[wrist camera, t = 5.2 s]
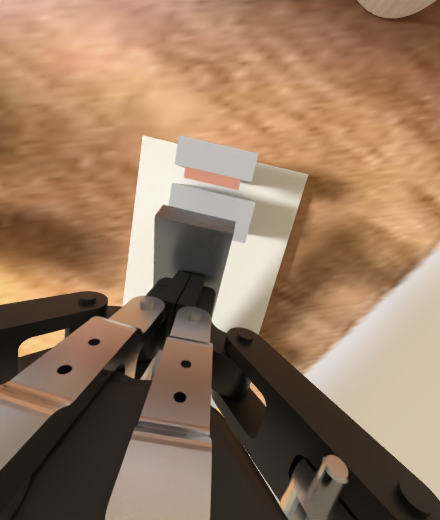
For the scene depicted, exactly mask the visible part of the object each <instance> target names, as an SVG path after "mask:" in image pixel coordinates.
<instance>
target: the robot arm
mask: <svg viewBox="0 0 440 520" xmlns="http://www.w3.org/2000/svg"><path fill="white" fill-rule="evenodd" d="M205 278H206V277H203V276H198V275H194V274H190V273H186V272H182V271H178V272H177V273H176V274H175V276H174V277H173V278H168V277H165V278H162V279H159V280H158V282H157V283H156V284H155V285H154V286H153V288H152V289H151V290H150V291H149V292H148V293H147V294H146V296H138V297H135V298H133V299H131V300H130V301H129V302H128V303H127V304H125V305H124V306H123V307H121V306H107V304H108V298H107V297H106V296H105V295H103V294H101V293H98V292H91V291H85V292H77V293H71V294H65V295H59V296H53V297H46V298H40V299H34V300H28V301H22V302H16V303H10V304H3V305H0V520H440V501H439V500H438V499H437V497H436V496H435V495H434V494H433V493H432V491H431V490H430V489H429V488H428V487H427V486H426V485H425V484H424V483H423V482H422V481H420V480H419V479H418V478H417V477H416V476H415V475H414V474H412V473H411V472H410V471H409V470H408V469H407V468H406V467H405V466H404V465H403V464H401V463H400V462H399V461H398V460H397V459H396V458H395V457H394V456H393V455H391V454H390V453H389V452H388V451H387V450H386V449H385V448H384V447H382V446H381V445H380V444H379V443H378V442H377V441H376V440H375V439H373V437H371V436H370V435H369V434H368V433H367V432H366V431H365V430H363V429H362V428H361V427H360V426H359V425H358V424H357V423H356V422H355V421H354V420H352V419H351V418H350V417H349V416H348V415H347V414H346V413H345V412H344V411H342V410H341V409H340V408H339V407H338V406H337V405H336V404H335V403H334V402H332V401H331V400H330V399H329V398H328V397H327V396H326V395H325V394H323V393H322V392H321V391H320V390H319V389H318V388H317V387H316V386H315V385H313V384H312V383H311V382H310V381H309V380H308V379H307V378H306V377H305V376H303V375H302V374H301V373H300V372H299V371H298V370H297V369H296V368H295V367H293V366H292V365H291V364H290V363H289V362H288V361H287V360H286V359H285V358H283V357H282V356H281V355H280V354H279V353H278V352H277V351H276V350H275V349H273V348H272V347H271V346H270V345H269V344H268V343H267V342H266V341H264V340H263V339H262V338H261V337H260V336H259V335H258V334H256V333H255V332H253V331H251V330H249V329H246V328H242V327H234V328H231V329H230V330H228V332H227V333H226V332H224V331H222V330H220V329H218V328H217V327H216V326H215V325H214V324H213V323H212V321H211V316H212V311H213V306H214V301H215V296H216V292H215V290H214V289H213V288H210V287H206V286H204V283H205ZM62 329H65V339H64V340H62V341H61V342H60V343H58V344H57V345H56V346H55V347H53V348H49V349H46V350H43V351H39V352H36V353H32V354H29V355H26V356H22V357H18V348H19V346H20V345H21V343H22V342H24V341H25V340H27V339H29V338H31V337H35V336H39V335H43V334H46V333H50V332H54V331H58V330H62ZM159 350H163V351H162V354H161V357H160V360H159V363H158V366H157V369H156V372H155V375H154V378H153V380H145V379H146V377H147V375H148V374H149V372H150V370H151V369H152V367H153V365H154V363H155V359H156V355H157V354H158V352H159ZM251 382H252V383H253V384H254V385H255V386H256V387H257V389H258V390H259V391H260V392H261V393H262V395H263V396H264V398H265V401H266V406H265V405H264V404H263V403H262V402H261V400H260V399H259V398H258V397H257V396H256V394H255V393H254V392H253V391H252V390H251V389H250V387H249V386H250V383H251ZM211 389H212V390H211ZM211 396H212V399H213V401H214V402H215V404H216V405H217V407H218V408H219V410H220V411H221V413H222V414H223V416H224V417H223V416H222V415H221V414H220V413H219V412H218V411H217V410H216V409H215V408H214V407H212V406H211ZM266 407H267V408H266ZM243 446H244V447H243ZM245 449H246V450H245ZM246 451H247V452H248V453H247V452H246ZM248 454H249V455H250V456H249V455H248ZM250 457H251V458H252V460H253V461H252V460H251V458H250ZM253 462H254V463H255V465H256V466H257V468H258V469H259V471H260V472H261V474H262V475H263V477H264V478H265V480H266V481H267V482H268V484H269V485H270V487H271V489H272V490H273V492H274V493H275V495H276V496H277V498H278V499H279V501H280V505H279V503H278V502H277V500H276V499H275V497H274V495H273V494H272V492H271V491H270V489H269V488H268V486H267V484H266V482H265V481H264V479H263V477H262V476H261V474H260V473H259V471H258V469H257V468H256V466H255V465H254V463H253Z"/></svg>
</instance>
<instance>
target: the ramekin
mask: <svg viewBox="0 0 440 520" xmlns="http://www.w3.org/2000/svg"><path fill="white" fill-rule="evenodd" d="M357 1H358V2H359V4H361V6H363V7H364V8H365V9H366V10H367V11H369V12H371V13H372V14H374V15H376V16H379V17H383V18H401V17H406V16H409V15H412V14H414V13H416V12H419V11H421V10H423V9H424V8H425V7H427V6H429V5H430V4H432V3H433V2H435V1H436V0H357Z"/></svg>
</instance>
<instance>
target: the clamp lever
mask: <svg viewBox="0 0 440 520" xmlns="http://www.w3.org/2000/svg"><path fill="white" fill-rule="evenodd" d="M235 224H236V221H232V220H227V219H223V218H219V217H215V216H210V215H206V214H202V213H197V212H193V211H189V210H185V209H180V208H176V207H172V206H167V205H162V207H161V208H160V209H159V211H158V212H157V213H156V215H155V218H154V275H153V286H154V285H155V284H156V283H157V282H158V280H159V279H162V278H165V277H168V278H173V277H174V276H175V274H176V273H177V272H178V271H182V272H186V273H190V274H194V275H198V276H203V277H206V278H205V283H204V286H206V287H210V288H213V289H214V290H215V292H216V296H215V301H214V306H213V311H212V316H213V312H214V308H215V305H216V301H217V297H218V293H219V289H220V285H221V281H222V277H223V273H224V270H225V266H226V262H227V258H228V254H229V250H230V246H231V242H232V239H233V235H234V229H235ZM212 316H211V320H212ZM162 351H163V350H159V352H158V354H157V355H156V359H155V363H154V365H153V367H152V375H151V379H150V380H153V378H154V375H155V372H156V369H157V366H158V363H159V360H160V357H161V354H162Z"/></svg>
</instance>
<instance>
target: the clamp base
mask: <svg viewBox="0 0 440 520" xmlns="http://www.w3.org/2000/svg"><path fill="white" fill-rule="evenodd" d="M258 154H259V153H254V152H250V151H246V150H241V149H237V148H233V147H229V146H224V145H220V144H216V143H212V142H207V141H203V140H199V139H194V138H190V137H186V136H182V135H179V139H178V144H177V143H172V142H168V141H164V140H160V139H155V138H151V137H147V136H143V139H142V147H141V156H140V164H139V172H138V181H137V189H136V198H135V206H134V214H133V223H132V231H131V240H130V248H129V257H128V265H127V273H126V282H125V290H124V299H123V306H124V305H125V304H127V303H128V302H129V301H130V300H131V299H133V298H135V297H138V296H146V294H147V293H148V292H149V291H150V290H151V289H152V288H153V275H154V218H155V215H156V213H157V212H158V211H159V209H160V208H161V207H162V205H167V206H172V207H176V208H180V209H185V210H189V211H193V212H197V213H202V214H206V215H210V216H215V217H219V218H223V219H227V220H232V221H236V224H235V229H234V235H233V239H232V242H231V246H230V250H229V254H228V258H227V262H226V266H225V270H224V273H223V277H222V281H221V285H220V289H219V293H218V297H217V301H216V305H215V308H214V312H213V316H212V320H211V321H212V323H213V324H214V325H215V326H216V327H217V328H218V329H220V330H222V331H224V332H226V333H227V332H228V330H230V329H231V328H234V327H242V328H246V329H249V330H251V331H253V332H255V333H256V334H258V335H259V332H260V329H261V326H262V322H263V319H264V316H265V313H266V310H267V306H268V303H269V300H270V297H271V293H272V290H273V287H274V284H275V281H276V277H277V274H278V271H279V268H280V265H281V261H282V258H283V255H284V252H285V248H286V245H287V242H288V239H289V236H290V232H291V229H292V226H293V223H294V220H295V216H296V213H297V210H298V207H299V203H300V200H301V197H302V194H303V191H304V187H305V184H306V181H307V178H308V174H305V173H301V172H296V171H292V170H288V169H284V168H279V167H275V166H271V165H267V164H262V163H258V162H257V158H258ZM151 375H152V369H151V370H150V372H149V374H148V375H147V377H146V379H145V380H150V378H151ZM211 390H212V389H211ZM211 406H212V407H214V408H215V409H216V407H217V405H216V404H215V402H214V401H213V399H212V396H211Z"/></svg>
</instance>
